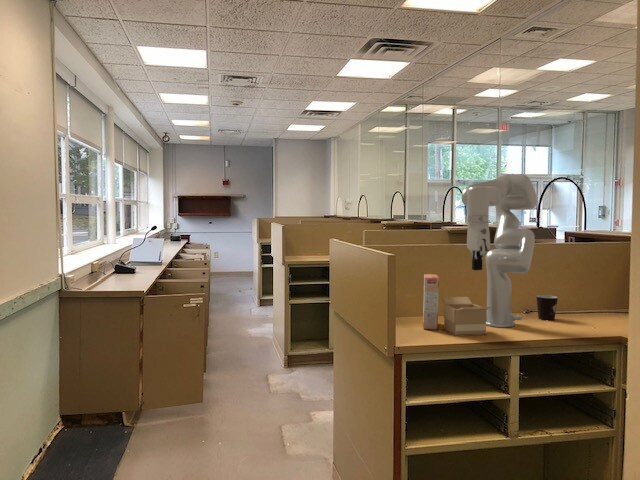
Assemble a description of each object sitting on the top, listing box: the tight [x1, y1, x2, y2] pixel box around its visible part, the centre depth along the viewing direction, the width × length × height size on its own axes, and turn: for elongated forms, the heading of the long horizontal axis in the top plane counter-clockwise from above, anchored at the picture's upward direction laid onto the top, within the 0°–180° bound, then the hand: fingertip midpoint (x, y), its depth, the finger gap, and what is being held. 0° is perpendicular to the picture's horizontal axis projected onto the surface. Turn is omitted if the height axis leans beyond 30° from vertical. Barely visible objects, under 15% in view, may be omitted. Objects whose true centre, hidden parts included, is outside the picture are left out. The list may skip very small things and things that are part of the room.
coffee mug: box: [536, 294, 559, 322], centre depth 216 cm, size 12×9×10 cm
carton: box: [443, 303, 487, 337], centre depth 191 cm, size 13×11×10 cm
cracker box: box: [422, 273, 440, 331], centre depth 201 cm, size 14×6×21 cm, turn 168°
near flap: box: [458, 306, 491, 311], centre depth 182 cm, size 11×5×1 cm, turn 97°
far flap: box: [441, 296, 473, 305], centre depth 199 cm, size 11×5×1 cm, turn 97°
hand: (477, 269), depth 181 cm, fingers closed
